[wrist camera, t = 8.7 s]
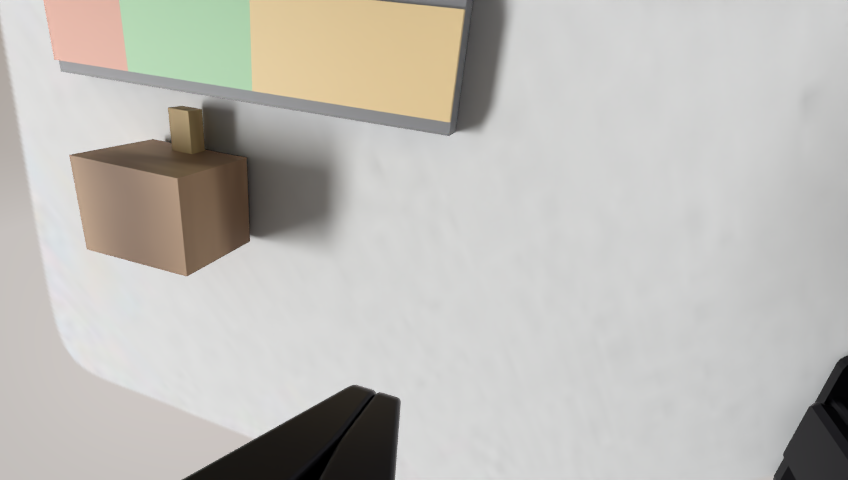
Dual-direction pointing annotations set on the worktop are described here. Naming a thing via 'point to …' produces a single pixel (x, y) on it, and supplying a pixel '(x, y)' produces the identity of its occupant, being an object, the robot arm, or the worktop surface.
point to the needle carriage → (164, 199)
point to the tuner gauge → (279, 53)
